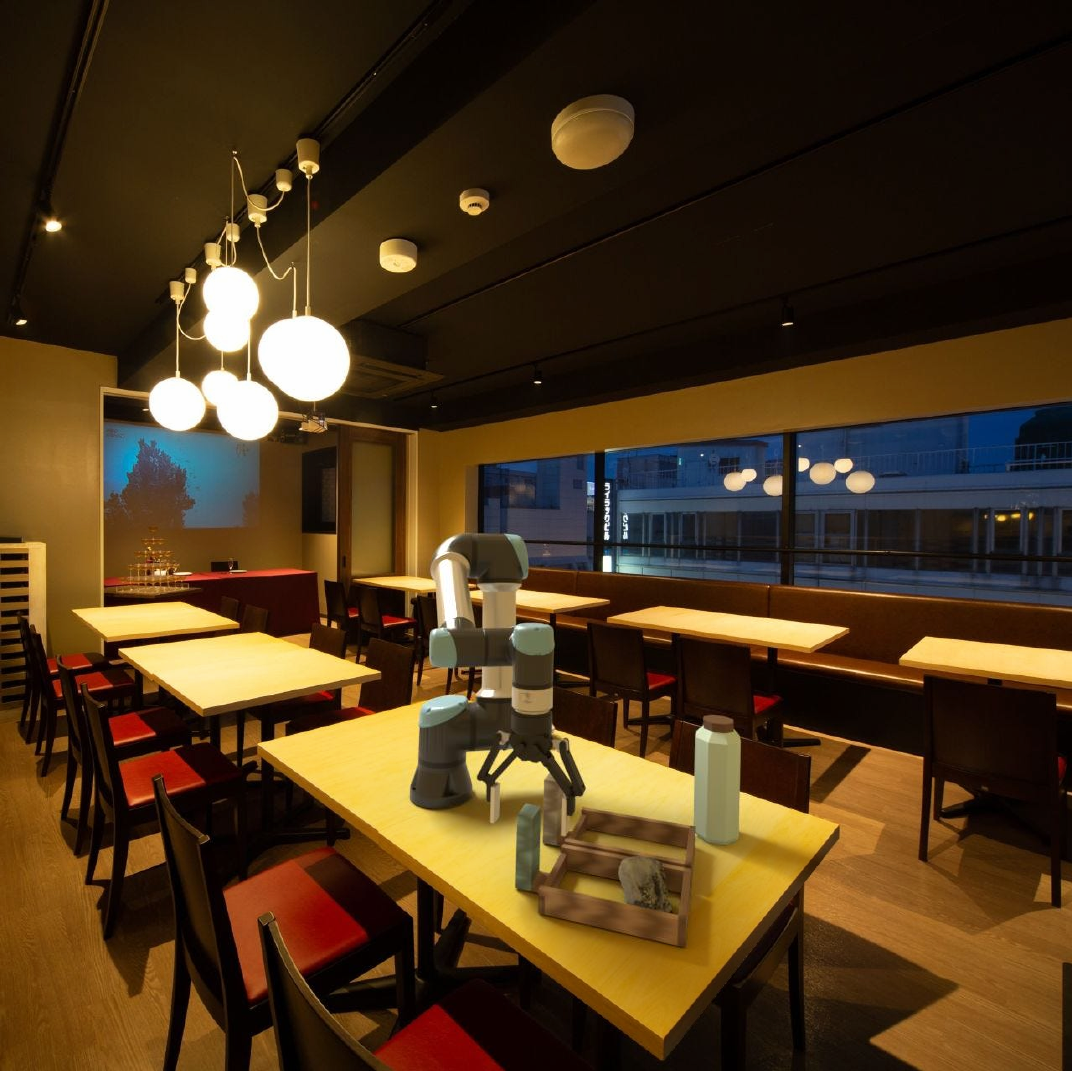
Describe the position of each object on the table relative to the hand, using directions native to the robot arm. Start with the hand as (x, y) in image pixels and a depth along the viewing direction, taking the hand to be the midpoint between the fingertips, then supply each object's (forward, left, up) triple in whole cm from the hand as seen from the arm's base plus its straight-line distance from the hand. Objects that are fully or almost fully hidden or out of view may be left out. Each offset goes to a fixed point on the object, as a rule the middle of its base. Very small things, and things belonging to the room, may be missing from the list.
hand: (529, 826), depth 105 cm
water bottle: (+32, +31, -11) cm, 46 cm away
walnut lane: (+13, 0, -10) cm, 17 cm away
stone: (+21, 0, -11) cm, 24 cm away
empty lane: (+13, +17, -10) cm, 24 cm away
